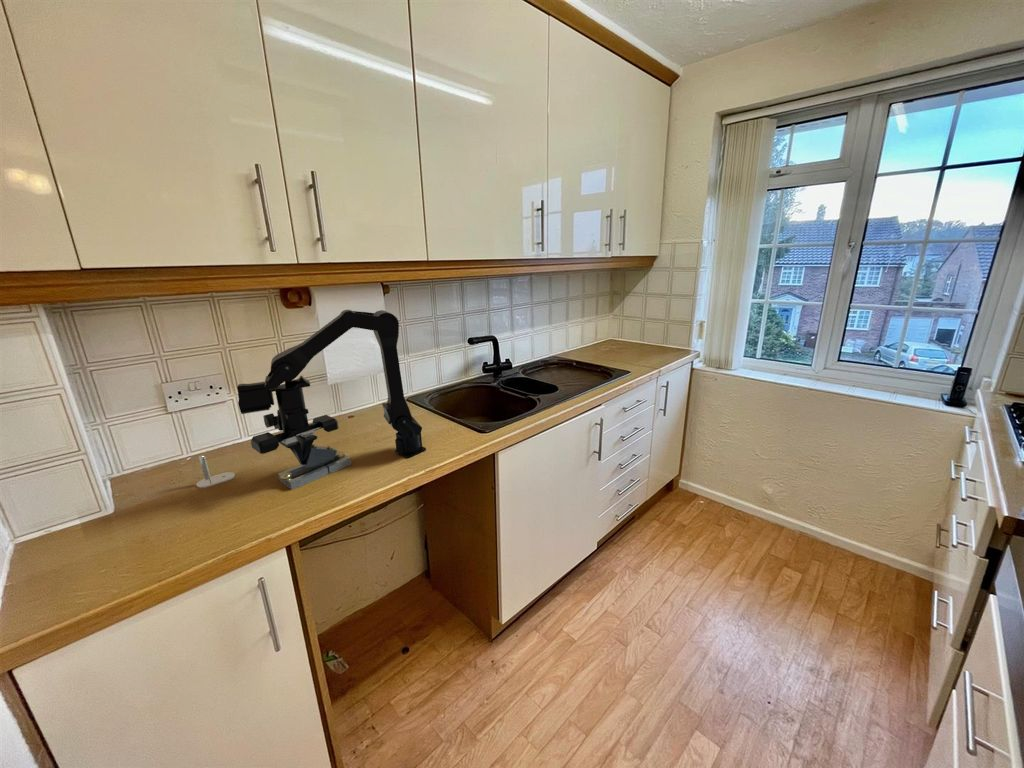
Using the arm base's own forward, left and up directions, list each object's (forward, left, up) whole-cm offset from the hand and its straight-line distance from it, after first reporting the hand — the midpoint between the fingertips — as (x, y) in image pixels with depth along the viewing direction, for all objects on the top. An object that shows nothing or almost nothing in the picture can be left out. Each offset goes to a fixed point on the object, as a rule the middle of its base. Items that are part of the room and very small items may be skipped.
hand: (302, 464), depth 104 cm
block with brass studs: (-3, 0, -2) cm, 4 cm away
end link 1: (0, 0, -4) cm, 4 cm away
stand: (+15, -17, -4) cm, 23 cm away
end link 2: (-8, 0, -4) cm, 9 cm away
